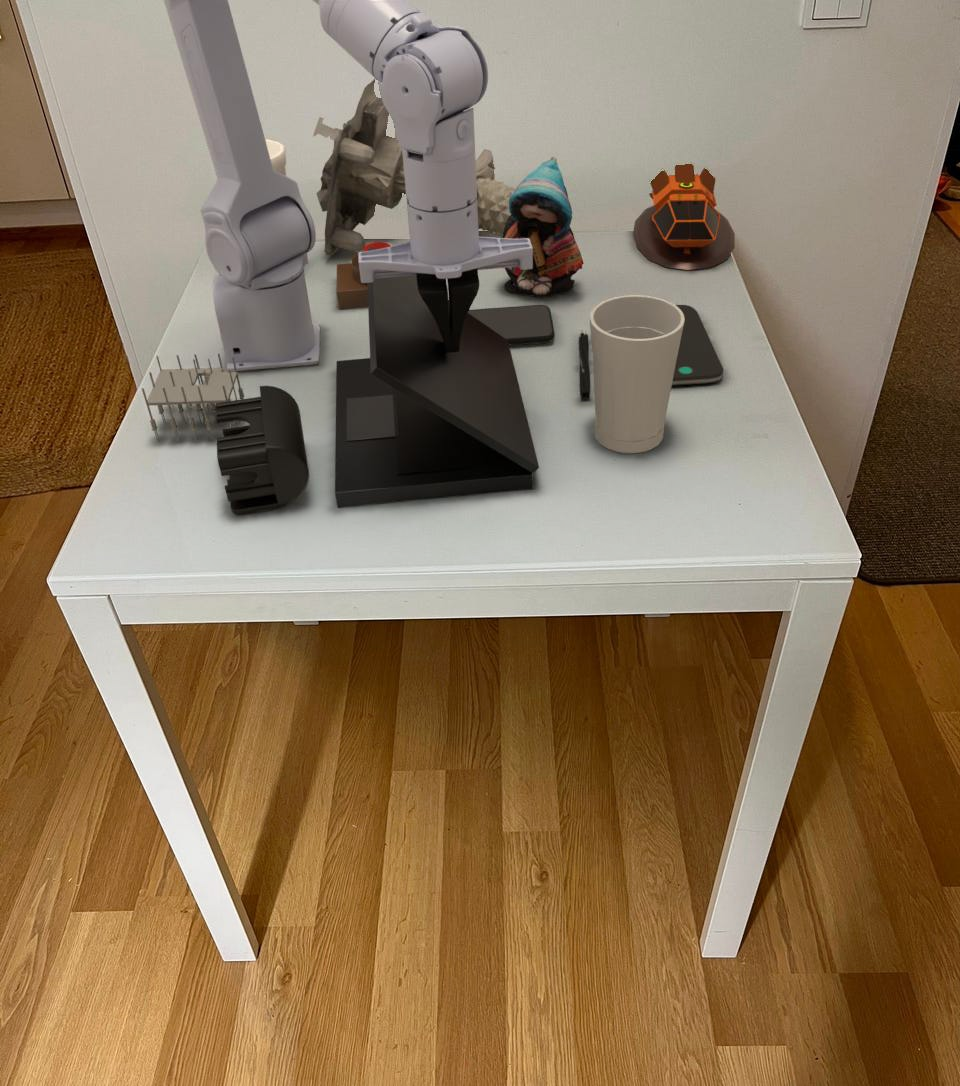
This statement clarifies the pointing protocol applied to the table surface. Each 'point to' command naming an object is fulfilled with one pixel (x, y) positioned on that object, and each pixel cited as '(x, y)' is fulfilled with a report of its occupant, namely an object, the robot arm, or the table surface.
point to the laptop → (407, 448)
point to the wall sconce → (384, 177)
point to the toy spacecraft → (684, 222)
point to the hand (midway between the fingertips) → (451, 346)
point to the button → (376, 246)
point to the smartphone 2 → (695, 353)
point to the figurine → (543, 234)
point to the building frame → (191, 392)
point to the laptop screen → (448, 369)
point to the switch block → (351, 286)
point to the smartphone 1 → (519, 323)
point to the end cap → (262, 451)
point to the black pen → (584, 365)
